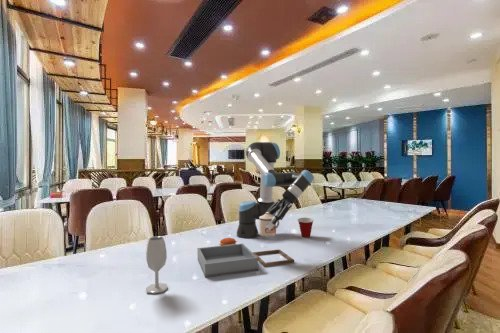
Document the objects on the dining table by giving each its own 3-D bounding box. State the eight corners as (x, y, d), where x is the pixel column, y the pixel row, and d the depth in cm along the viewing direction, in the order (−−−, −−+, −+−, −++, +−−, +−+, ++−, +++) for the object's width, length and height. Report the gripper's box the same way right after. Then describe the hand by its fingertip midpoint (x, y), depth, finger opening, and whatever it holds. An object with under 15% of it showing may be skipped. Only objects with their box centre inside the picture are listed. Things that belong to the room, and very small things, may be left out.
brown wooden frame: (252, 255, 159) (252, 252, 159) (279, 251, 164) (279, 249, 164) (263, 266, 141) (263, 263, 141) (294, 262, 146) (294, 259, 146)
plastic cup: (296, 238, 193) (295, 220, 192) (299, 234, 203) (299, 217, 202) (312, 239, 189) (312, 221, 188) (315, 235, 199) (315, 218, 198)
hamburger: (222, 246, 175) (222, 235, 175) (237, 247, 173) (237, 236, 173) (217, 251, 166) (217, 240, 166) (234, 252, 164) (234, 240, 164)
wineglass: (148, 285, 122) (147, 235, 121) (169, 284, 122) (169, 235, 122) (142, 295, 113) (141, 241, 112) (165, 293, 114) (164, 240, 113)
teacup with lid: (265, 237, 145) (265, 214, 145) (255, 233, 153) (255, 211, 153) (284, 234, 152) (284, 212, 151) (274, 230, 159) (273, 209, 159)
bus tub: (197, 259, 153) (197, 248, 153) (242, 254, 161) (242, 243, 160) (205, 277, 129) (204, 264, 129) (257, 270, 137) (257, 257, 137)
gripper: (279, 187, 165) (252, 217, 160) (296, 191, 144) (267, 226, 140) (287, 196, 167) (261, 226, 162) (306, 201, 146) (277, 236, 141)
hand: (264, 226), depth 151 cm, fingers closed on teacup with lid, 9 cm apart
